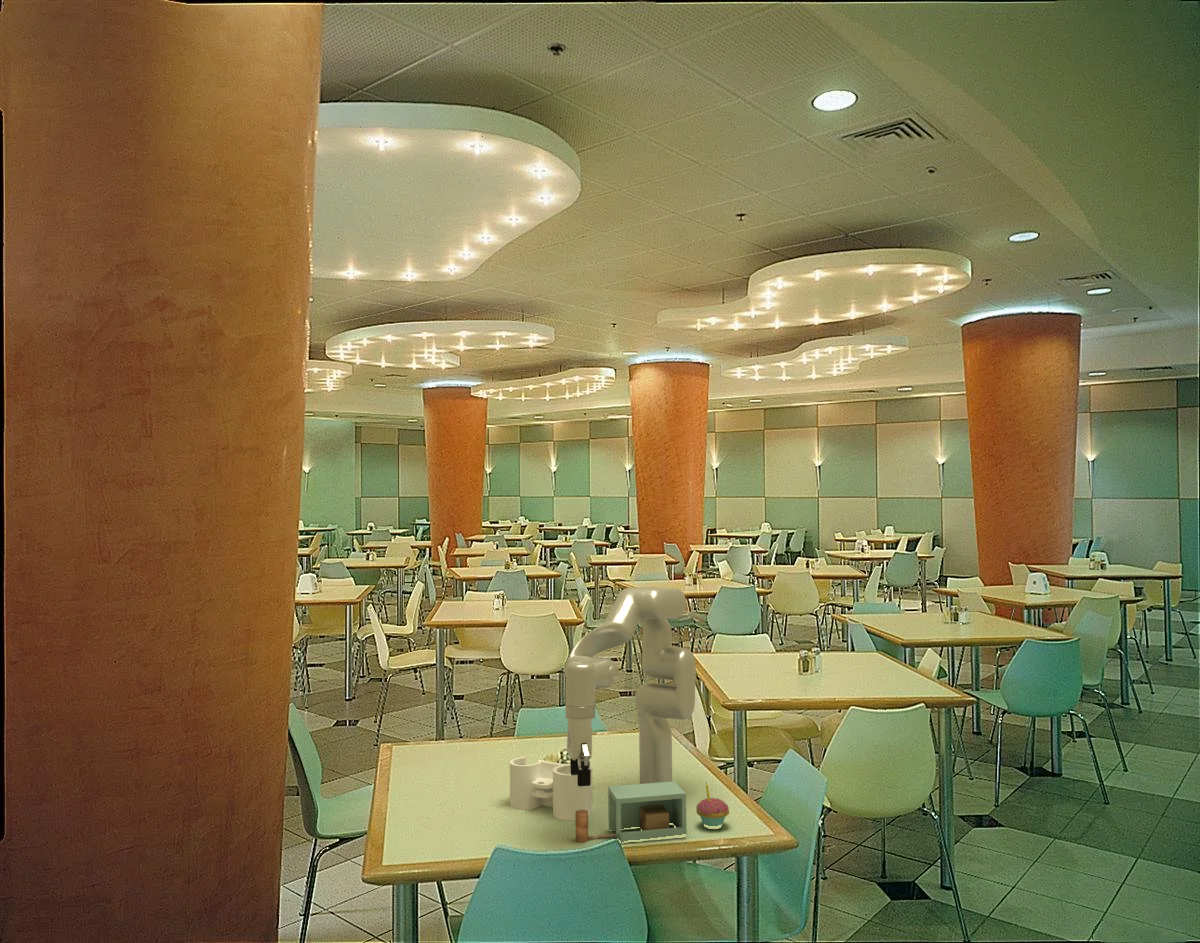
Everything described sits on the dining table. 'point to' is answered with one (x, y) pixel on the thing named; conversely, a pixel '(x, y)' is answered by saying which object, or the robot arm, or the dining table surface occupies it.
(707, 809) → the cupcake
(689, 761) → the dining table surface
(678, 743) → the dining table surface
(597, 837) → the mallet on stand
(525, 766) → the bracket
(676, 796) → the plain rectangular box
